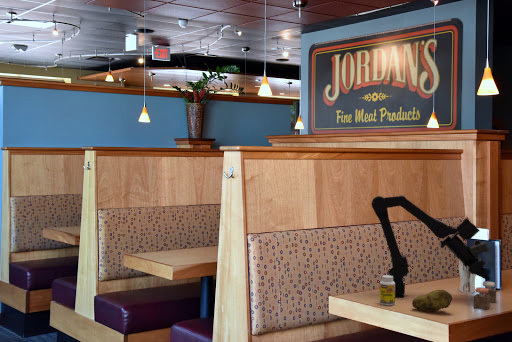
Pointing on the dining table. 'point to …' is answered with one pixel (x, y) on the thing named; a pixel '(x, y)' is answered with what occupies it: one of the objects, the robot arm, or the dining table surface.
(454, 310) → the dining table surface
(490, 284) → the ivory key
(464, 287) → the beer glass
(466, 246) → the robot arm
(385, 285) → the supplement bottle
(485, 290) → the red rounded knob
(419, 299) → the potato
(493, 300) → the ivory key housing
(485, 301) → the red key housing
